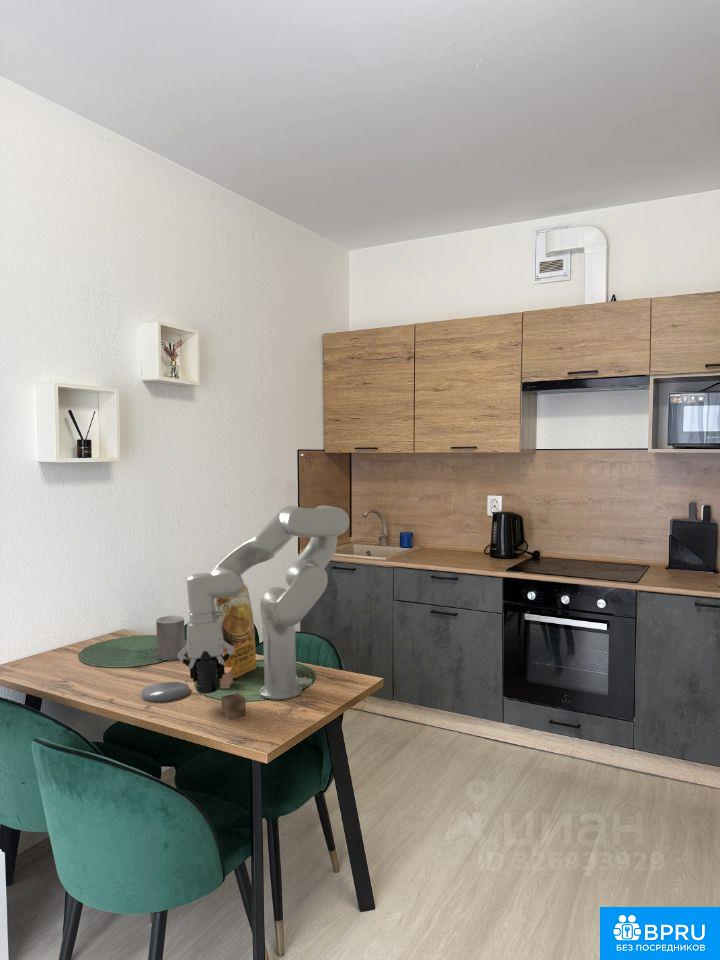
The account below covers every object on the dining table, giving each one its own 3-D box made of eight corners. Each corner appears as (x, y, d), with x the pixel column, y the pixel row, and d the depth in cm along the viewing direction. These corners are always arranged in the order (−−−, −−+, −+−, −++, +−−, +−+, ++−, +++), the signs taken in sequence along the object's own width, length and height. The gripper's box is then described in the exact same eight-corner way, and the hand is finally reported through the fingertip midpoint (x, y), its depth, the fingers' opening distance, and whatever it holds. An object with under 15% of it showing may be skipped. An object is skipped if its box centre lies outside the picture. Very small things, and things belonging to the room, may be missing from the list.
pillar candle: (153, 656, 244) (151, 615, 243) (179, 651, 249) (178, 610, 249) (163, 663, 236) (161, 620, 235) (189, 657, 242) (188, 615, 241)
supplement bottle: (210, 683, 199) (207, 643, 198) (225, 688, 195) (222, 646, 194) (191, 691, 194) (188, 650, 193) (206, 696, 190) (203, 653, 189)
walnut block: (239, 710, 191) (238, 692, 191) (245, 716, 187) (245, 698, 187) (222, 714, 189) (221, 696, 188) (228, 720, 184) (227, 702, 184)
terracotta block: (232, 683, 214) (232, 667, 214) (228, 688, 209) (228, 672, 209) (217, 682, 214) (216, 667, 214) (212, 688, 209) (212, 672, 209)
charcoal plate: (190, 683, 214) (190, 680, 214) (188, 699, 200) (188, 695, 200) (143, 687, 211) (143, 683, 211) (138, 704, 197) (138, 700, 197)
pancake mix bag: (211, 680, 217) (208, 593, 216) (248, 663, 233) (246, 582, 232) (227, 683, 214) (225, 594, 212) (264, 665, 230) (262, 583, 229)
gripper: (234, 610, 198) (238, 670, 200) (172, 617, 195) (177, 678, 196) (234, 617, 191) (239, 679, 192) (170, 624, 188) (175, 687, 189)
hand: (207, 678), depth 194 cm, fingers closed on supplement bottle, 6 cm apart
